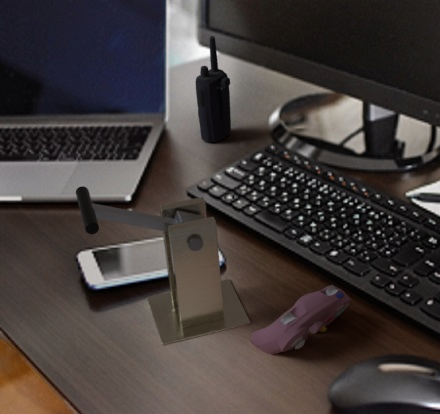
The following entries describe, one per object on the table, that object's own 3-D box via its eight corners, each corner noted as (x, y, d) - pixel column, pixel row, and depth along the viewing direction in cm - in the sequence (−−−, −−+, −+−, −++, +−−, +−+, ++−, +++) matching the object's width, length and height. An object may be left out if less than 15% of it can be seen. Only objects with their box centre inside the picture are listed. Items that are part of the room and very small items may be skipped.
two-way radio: (218, 127, 126) (211, 30, 118) (243, 133, 124) (237, 36, 116) (195, 141, 122) (186, 42, 114) (220, 148, 120) (212, 48, 112)
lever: (81, 239, 73) (89, 215, 73) (72, 201, 79) (79, 179, 78) (206, 260, 79) (215, 239, 78) (189, 224, 85) (197, 203, 84)
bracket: (163, 352, 82) (148, 244, 75) (147, 306, 88) (132, 202, 82) (251, 331, 85) (244, 224, 78) (229, 287, 91) (221, 185, 85)
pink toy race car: (273, 378, 81) (294, 343, 76) (243, 343, 82) (262, 306, 77) (341, 330, 87) (366, 295, 82) (313, 298, 88) (335, 261, 83)
